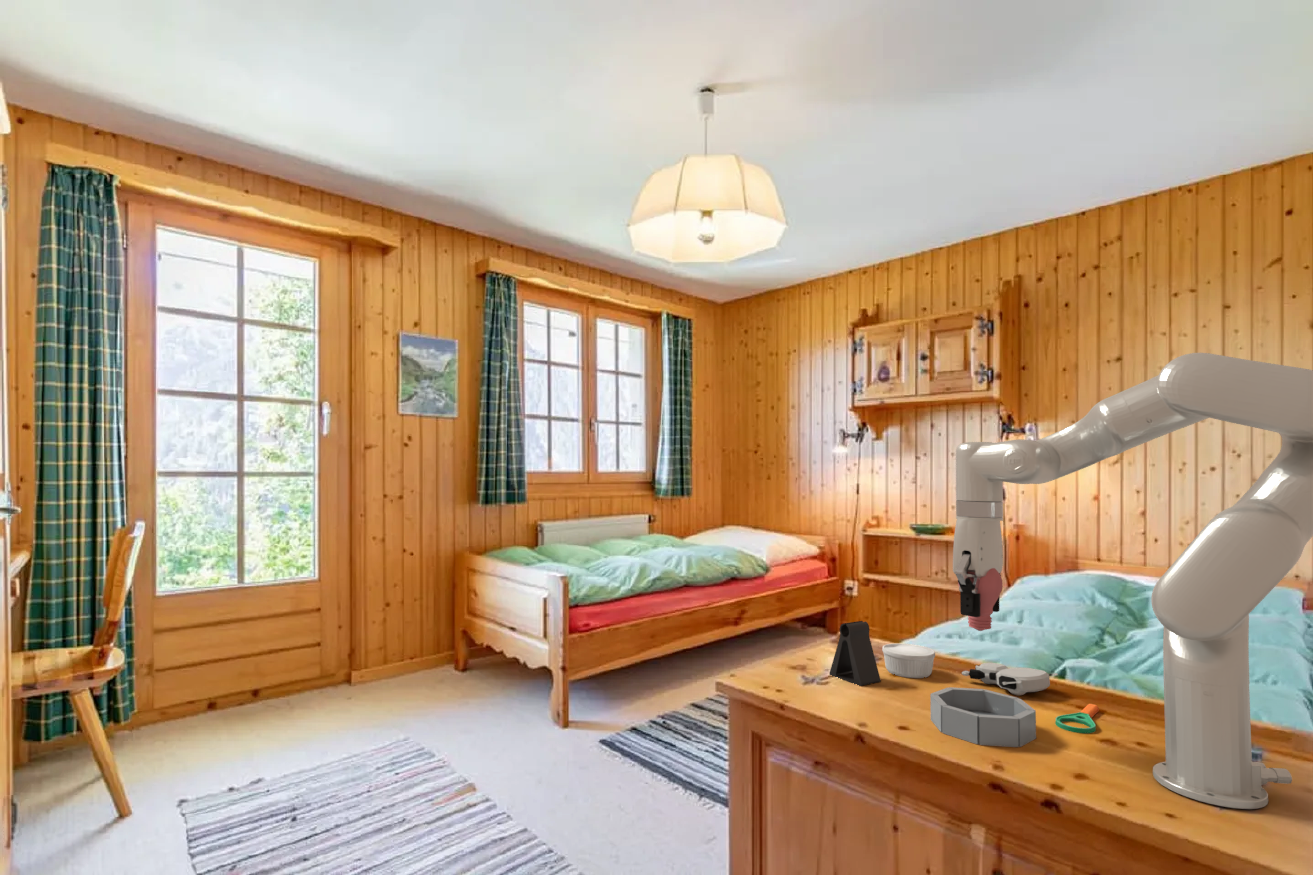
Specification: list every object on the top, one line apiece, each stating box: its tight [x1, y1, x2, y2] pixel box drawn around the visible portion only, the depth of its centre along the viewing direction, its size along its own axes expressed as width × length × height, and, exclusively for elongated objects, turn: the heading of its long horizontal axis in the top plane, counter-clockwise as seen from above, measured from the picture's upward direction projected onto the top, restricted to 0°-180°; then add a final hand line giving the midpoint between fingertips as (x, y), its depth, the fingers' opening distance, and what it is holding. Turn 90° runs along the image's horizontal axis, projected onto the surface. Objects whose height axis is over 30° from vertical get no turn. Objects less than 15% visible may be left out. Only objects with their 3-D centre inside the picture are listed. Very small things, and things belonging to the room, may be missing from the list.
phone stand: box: [829, 620, 881, 687], centre depth 144 cm, size 9×6×12 cm, turn 31°
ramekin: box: [881, 643, 936, 679], centre depth 150 cm, size 11×11×5 cm
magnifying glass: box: [1054, 703, 1100, 734], centre depth 121 cm, size 15×6×2 cm, turn 134°
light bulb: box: [957, 568, 1004, 632], centre depth 118 cm, size 7×7×12 cm
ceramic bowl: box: [930, 686, 1037, 748], centre depth 116 cm, size 15×15×4 cm
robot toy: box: [961, 662, 1059, 696], centre depth 140 cm, size 12×4×15 cm
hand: (980, 612), depth 117 cm, fingers closed on light bulb, 6 cm apart
